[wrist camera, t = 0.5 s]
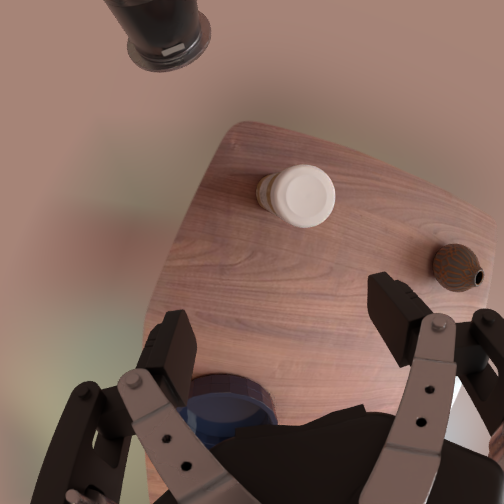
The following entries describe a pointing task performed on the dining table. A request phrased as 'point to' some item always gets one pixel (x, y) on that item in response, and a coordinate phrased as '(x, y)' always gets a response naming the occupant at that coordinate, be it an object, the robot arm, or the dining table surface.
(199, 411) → the pan
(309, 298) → the dining table surface
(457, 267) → the vase
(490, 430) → the robot arm
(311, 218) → the sprinkles bottle
